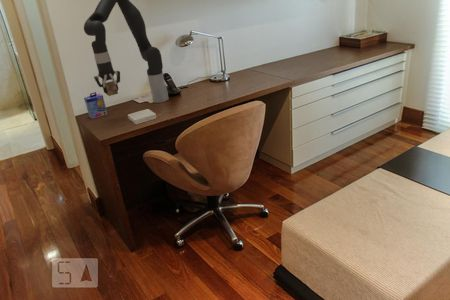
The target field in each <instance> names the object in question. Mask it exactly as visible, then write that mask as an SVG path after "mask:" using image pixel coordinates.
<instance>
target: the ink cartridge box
mask: <svg viewBox="0 0 450 300" xmlns="http://www.w3.org/2000/svg"><path fill="white" fill-rule="evenodd" d="M83 100H84V102H85V106H86V109H87V112H88V113H87V114H88V115H89V118H90V119H92V120H93V119H97V118H101V117H104V116H107V115H108V110H107V107H106V103H105V99H104V95H103V94H101V93H97V92H96V91H95V92H92V93H89V95H88V96H86V97H84V98H83Z"/></svg>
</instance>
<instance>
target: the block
mask: <svg viewBox="0 0 450 300" xmlns="http://www.w3.org/2000/svg"><path fill="white" fill-rule="evenodd" d="M105 87H106V89H107V93H108V94H106V95H107V96H108V97H110V96H115V95H118V94H119V93H118V91H117V88H116V84H115V82H113V81H112V80H110V81H108V82H107V81H106V86H105Z"/></svg>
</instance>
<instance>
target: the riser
mask: <svg viewBox="0 0 450 300" xmlns="http://www.w3.org/2000/svg"><path fill="white" fill-rule="evenodd" d="M127 117H128V120H129V121H131V122H132V123H133V124H134V125H139V124H141V123H145V122H149V121H152V120H155V119H157V114H156V113H155V112H154V111H152V110H150V109H149V108H147V109H143V110H139V111H136V112H132V113H129V114H127Z"/></svg>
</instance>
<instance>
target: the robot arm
mask: <svg viewBox="0 0 450 300" xmlns="http://www.w3.org/2000/svg"><path fill="white" fill-rule="evenodd" d="M116 4H117V5H118V7H119V9H120V12H121V13H122V15H123V18H124V20H125V22H126V24H127V26H128V28H129V30H130V32H131V34H132V36H133V38H134V39H135V42H136V44H137V47H138V50H139V53H140V55H141V58H142V59H143V61H146V62H147V66H148V67H147V69H146V75H147V79H148V84H149V89H150V94H151V97H152V102H153V103H155V104H156V103H157V104H159V103H164V102H166V101H169V100H170V98H169V93H168V88H167V84H166V83H165V77H164V73H163V68H164V67H163V58H162V54H161V51H160V49H159V48H157V47H156V46H152V44H151V42H150V40H149V38H148V36H147V28H146V24H145V20H144V18H143V15H142V14H141V11H140V10H139V9H138V8H137V7H136V6H135V5H134V4H133V3H132V2H131V0H100V1H98V4H97V5H96V7H95V10H94V11H93V12H92V14H91V15H90V16H88V18H87V19H86V20H85V22H84V24H83V31H84V33H85V34H86V35H88V36H89V37H90V36H91V37H93V36H94V37H95V38H94V39H95V40H93V41H92V42H91V49H92V52H93V55H94V61H95V64H96V67H97V68H96V69H97V71H98V74H97V75H94V76H93V78H94V81H95V82H96V84H97V86H98V87H99V88H102V90H103V93H104V94H106V95H107V94H108V93H107V89H106V87H105V86H106V83H107V81H108V82H109V81H113V82H115V84H116V88H117V91H118V90H119V85H118V84H119V83H120V82H121V72H120V71H119V70H115V69H114V67H113V64H112V61H111V60H112V59H111V57H110V54H109V53H110V52H109V50H108V46H107V43H106V41H107V40H106V39H107V38H106V36H107V34H106V33H107V32H106V27H105V25H104V23H106V21H108V19H109V17H110V15H111V13H112V11H113V9H114V7H115V5H116ZM114 75H115V76H116V78H115V77H114ZM100 78H101V82H100Z"/></svg>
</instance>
